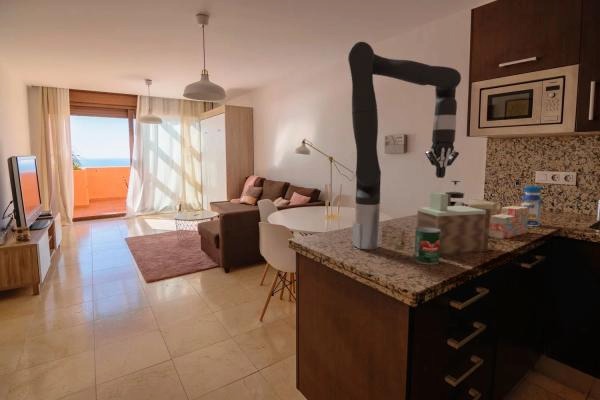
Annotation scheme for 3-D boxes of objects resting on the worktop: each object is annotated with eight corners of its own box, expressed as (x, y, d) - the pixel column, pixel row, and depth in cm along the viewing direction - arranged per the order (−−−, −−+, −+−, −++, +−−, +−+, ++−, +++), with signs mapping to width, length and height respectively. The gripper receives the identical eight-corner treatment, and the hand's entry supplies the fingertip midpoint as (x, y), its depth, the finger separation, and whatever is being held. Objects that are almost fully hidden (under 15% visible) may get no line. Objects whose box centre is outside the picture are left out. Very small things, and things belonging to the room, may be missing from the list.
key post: (478, 251, 122) (481, 209, 120) (463, 245, 129) (465, 206, 127) (487, 250, 123) (490, 209, 121) (471, 244, 130) (474, 206, 128)
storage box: (435, 256, 115) (438, 216, 113) (415, 247, 126) (417, 210, 124) (482, 252, 120) (485, 213, 118) (459, 244, 131) (461, 208, 129)
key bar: (493, 209, 118) (493, 203, 118) (468, 205, 130) (469, 199, 130) (499, 209, 119) (500, 203, 119) (474, 204, 131) (475, 199, 130)
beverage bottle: (543, 226, 164) (547, 186, 162) (530, 227, 162) (534, 187, 160) (528, 223, 172) (531, 185, 170) (515, 223, 170) (518, 185, 168)
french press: (437, 225, 167) (440, 180, 164) (447, 223, 173) (450, 179, 170) (460, 229, 158) (463, 182, 155) (470, 226, 164) (473, 181, 160)
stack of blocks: (503, 239, 139) (505, 211, 138) (488, 236, 145) (490, 209, 143) (527, 233, 151) (529, 206, 149) (512, 230, 156) (514, 205, 154)
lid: (437, 220, 113) (439, 195, 112) (417, 214, 125) (418, 192, 123) (485, 217, 118) (487, 193, 117) (461, 212, 129) (463, 190, 128)
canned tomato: (425, 256, 116) (426, 225, 114) (444, 262, 109) (446, 230, 107) (408, 259, 112) (410, 227, 111) (427, 265, 105) (429, 232, 104)
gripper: (434, 127, 111) (431, 178, 113) (467, 129, 114) (463, 178, 116) (421, 129, 118) (418, 176, 120) (452, 130, 121) (448, 177, 124)
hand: (440, 177), depth 118 cm, fingers closed
